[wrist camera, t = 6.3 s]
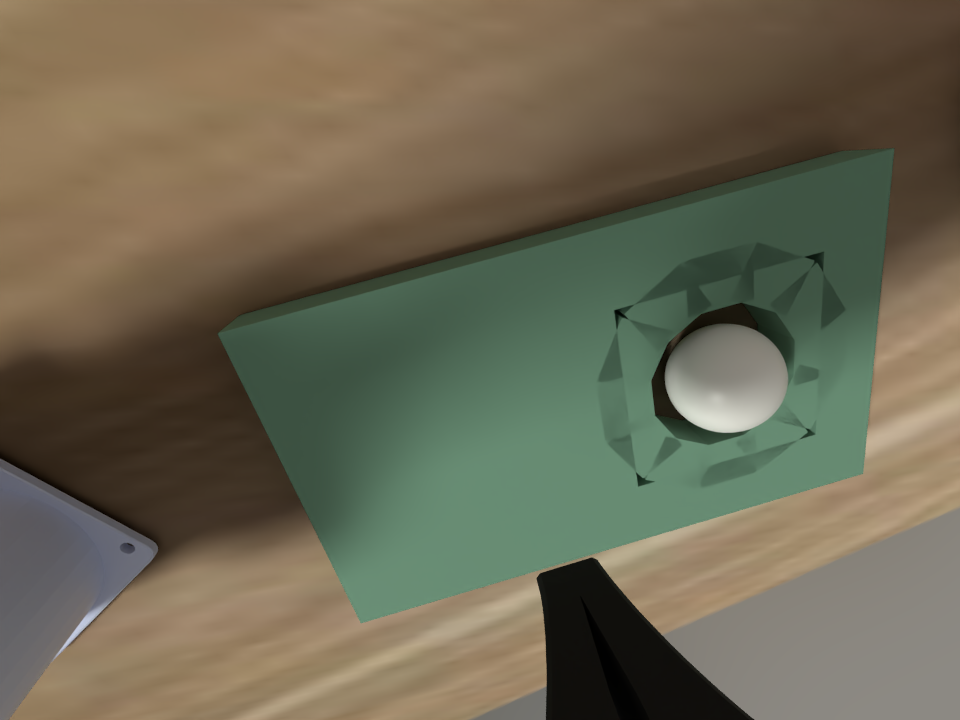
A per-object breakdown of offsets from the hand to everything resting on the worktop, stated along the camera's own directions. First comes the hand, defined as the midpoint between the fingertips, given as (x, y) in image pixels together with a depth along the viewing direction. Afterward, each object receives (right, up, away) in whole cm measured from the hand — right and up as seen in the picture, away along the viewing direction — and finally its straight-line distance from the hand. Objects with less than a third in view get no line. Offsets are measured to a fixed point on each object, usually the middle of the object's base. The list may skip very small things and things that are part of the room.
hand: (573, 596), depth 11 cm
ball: (+7, +5, +7) cm, 11 cm away
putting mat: (+2, +4, +8) cm, 9 cm away
